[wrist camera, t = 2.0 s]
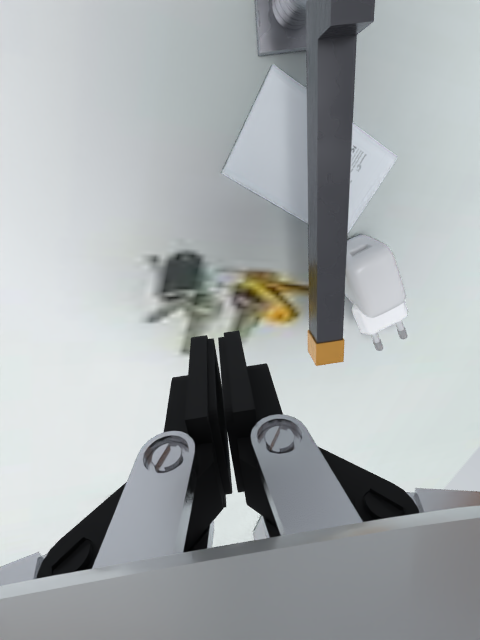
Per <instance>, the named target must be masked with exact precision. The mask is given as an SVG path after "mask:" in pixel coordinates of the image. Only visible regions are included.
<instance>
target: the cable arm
mask: <svg viewBox="0 0 480 640" xmlns="http://www.w3.org/2000/svg"><path fill="white" fill-rule="evenodd" d="M374 6H375V0H307V2H306V68H307V165H308V262H309V330H308V352H309V354H310V356H311V357H312V359H313V361H314V363H315V365H316V366H318V365H325V364H331V363H338V362H343V358H344V339H343V320H344V298H345V276H346V255H347V233H348V211H349V189H350V168H351V146H352V124H353V102H354V80H355V59H356V37H357V34H358V33H360V32H361V31H362V30H363V29H365V28H366V27H367V26H368V25H369V24H371V23H372V22H373V21H374Z"/></svg>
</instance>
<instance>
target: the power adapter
mask: <svg viewBox="0 0 480 640" xmlns="http://www.w3.org/2000/svg"><path fill="white" fill-rule="evenodd" d="M345 296H346V297H347V298H348V299H349V300H350V302H351V303H352V304H353V306H352V313H353V316H354V318H355V321H356V323H357V325H358V328H359V330H360V332H361V334H365V335H371V337H372V339H373V343H374V345H375V348H376V350H378V351H381V350H382V349H383V345H382V343H381V340H380V339H379V336H378V333H377V332H378V331H380V330H382V329H384V328H386V327H388V326H391V325H393V324H396V327H397V331H398V334H399V337H400V338H401V339H406V338H407V333H406V330H405V328H404V325H403V322H402V320H403V319H404V318H406V317H407V316H408V309H407V306H406V302H405V298H406V293H405V289H404V285H403V282H402V279H401V275H400V272H399V269H398V266H397V263H396V260H395V257H394V254H393V252H392V251H391V250H390V248H389V247H388V246H387V245H385V244H384V243H382V242H380V241H378V240H376V239H374V238H371V237H369V236H367V235H358V236H356V237H353V238H351V239H349V240H347V255H346V276H345Z"/></svg>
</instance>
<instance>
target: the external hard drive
mask: <svg viewBox="0 0 480 640" xmlns="http://www.w3.org/2000/svg"><path fill="white" fill-rule="evenodd" d="M397 157H398V156H397V155H395V154H394V153H393V152H391V151H390V150H389V149H387V148H386V147H385V146H383V145H382V144H381V143H379V142H378V141H377V140H375V139H374V138H373V137H371V136H370V135H369V134H367V133H366V132H365V131H363V130H362V129H361V128H359V127H358V126H357V125H355V124H354V123H353V124H352V146H351V168H350V189H349V211H348V233H349V231H350V230H351V228H352V227H353V225H354V224H355V222H356V221H357V219H358V218H359V216H360V215H361V213H362V212H363V210H364V208H365V207H366V205H367V204H368V202H369V201H370V199H371V198H372V197H373V195H374V193H375V192H376V190H377V189H378V187H379V186H380V184H381V183H382V181H383V180H384V178H385V177H386V175H387V174H388V172H389V171H390V169H391V168H392V166H393V165H394V163H395V161H396V159H397ZM221 174H223V175H225V176H226V177H228V178H230V179H232V180H233V181H235V182H237V183H238V184H240V185H242V186H244V187H245V188H247V189H249V190H250V191H252V192H254V193H256V194H257V195H259V196H261V197H262V198H264V199H266V200H268V201H269V202H271V203H273V204H274V205H276V206H278V207H280V208H281V209H283V210H285V211H287V212H288V213H290V214H292V215H293V216H295V217H297V218H299V219H300V220H302V221H304V222H305V223H307V224H308V165H307V88H305V87H304V86H303V85H301V84H300V83H298V82H297V81H296V80H294V79H293V78H292V77H290V76H289V75H288V74H286V73H285V72H284V71H282V70H281V69H279V68H278V67H277V66H275V65H274V64H272V66H271V67H270V69H269V71H268V73H267V75H266V77H265V80H264V82H263V84H262V86H261V88H260V90H259V93H258V95H257V97H256V99H255V101H254V103H253V105H252V108H251V110H250V112H249V114H248V116H247V118H246V120H245V123H244V125H243V127H242V129H241V131H240V133H239V135H238V138H237V140H236V142H235V144H234V146H233V148H232V150H231V153H230V155H229V157H228V159H227V161H226V163H225V165H224V167H223V170H222V172H221ZM348 233H347V235H348Z"/></svg>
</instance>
